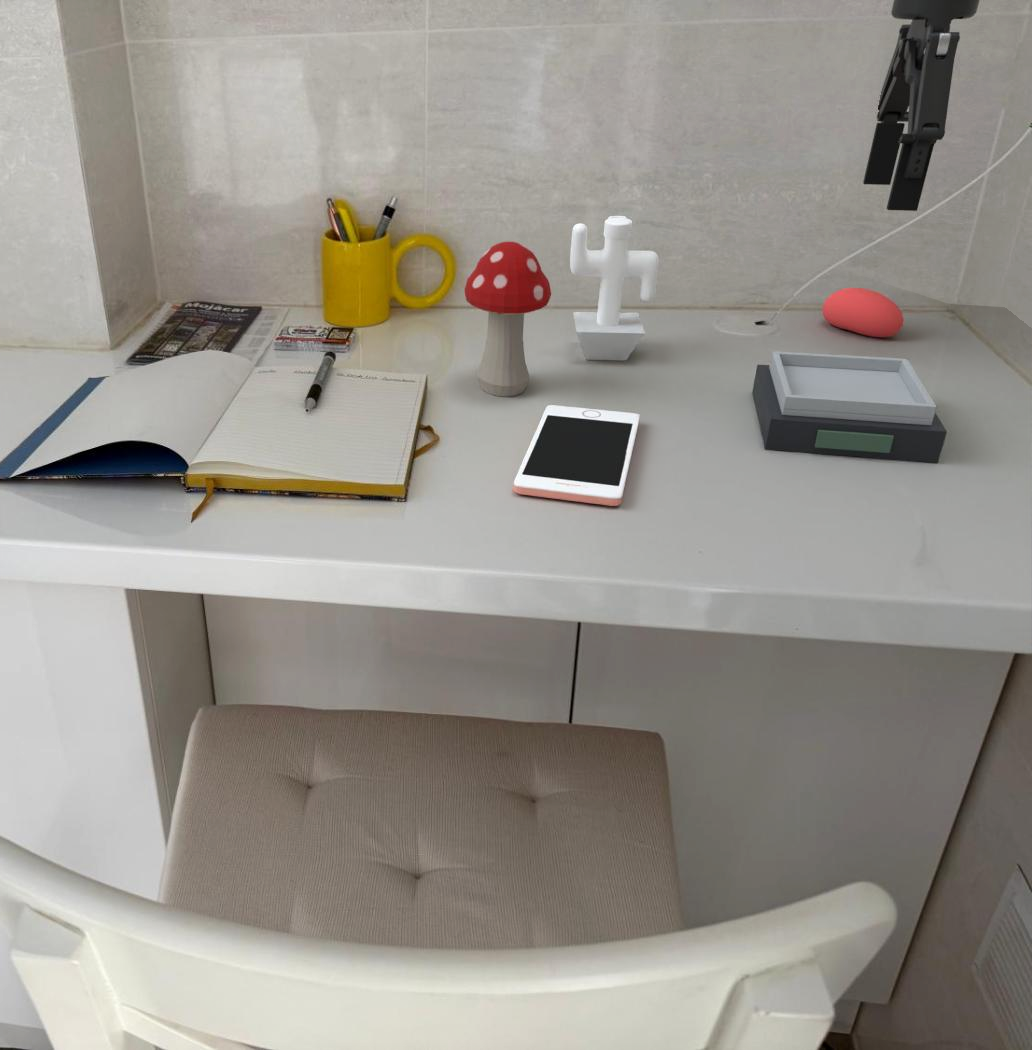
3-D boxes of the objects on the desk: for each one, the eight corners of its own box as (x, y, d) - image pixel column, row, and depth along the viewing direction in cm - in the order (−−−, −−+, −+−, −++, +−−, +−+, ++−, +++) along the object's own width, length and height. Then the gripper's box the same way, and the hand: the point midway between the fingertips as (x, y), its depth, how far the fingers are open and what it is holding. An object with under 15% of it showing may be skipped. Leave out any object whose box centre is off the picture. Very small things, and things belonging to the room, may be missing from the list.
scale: (904, 402, 97) (916, 355, 95) (938, 464, 86) (953, 413, 83) (752, 392, 101) (760, 347, 99) (765, 450, 89) (774, 401, 87)
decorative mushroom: (554, 401, 101) (566, 253, 93) (470, 406, 100) (475, 257, 93) (532, 367, 109) (541, 229, 102) (454, 371, 109) (458, 233, 102)
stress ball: (850, 355, 113) (892, 311, 109) (803, 307, 118) (842, 263, 114) (876, 362, 115) (918, 319, 112) (829, 314, 121) (868, 272, 117)
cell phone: (639, 422, 95) (640, 413, 95) (620, 508, 80) (621, 497, 80) (546, 412, 98) (547, 403, 97) (511, 494, 83) (512, 484, 83)
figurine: (651, 365, 109) (669, 226, 101) (563, 363, 110) (575, 226, 103) (643, 343, 115) (660, 211, 107) (560, 342, 116) (571, 211, 109)
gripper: (876, -28, 109) (833, 173, 119) (930, -23, 88) (872, 220, 98) (952, -30, 107) (902, 175, 117) (1026, -25, 86) (956, 223, 97)
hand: (888, 196), depth 108 cm, fingers open, 13 cm apart
